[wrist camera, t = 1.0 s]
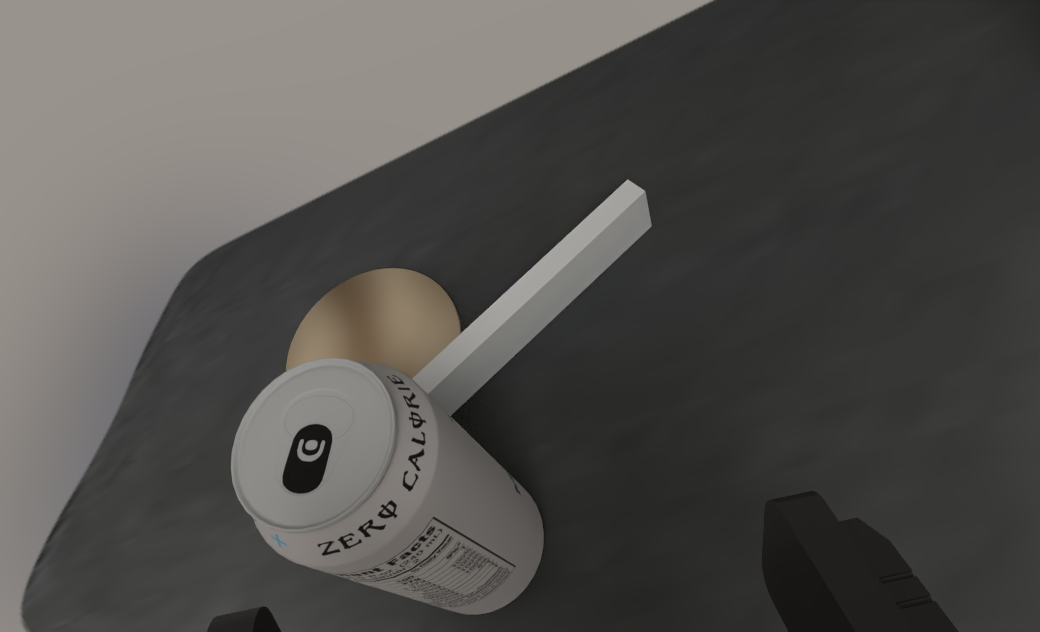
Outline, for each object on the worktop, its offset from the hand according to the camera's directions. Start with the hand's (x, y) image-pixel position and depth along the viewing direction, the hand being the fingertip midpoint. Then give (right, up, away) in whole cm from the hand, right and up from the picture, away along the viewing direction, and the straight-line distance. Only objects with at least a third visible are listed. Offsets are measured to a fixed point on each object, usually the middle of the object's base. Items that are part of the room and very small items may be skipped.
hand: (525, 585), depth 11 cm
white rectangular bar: (-1, +2, +24) cm, 25 cm away
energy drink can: (-2, -6, +20) cm, 21 cm away
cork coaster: (-8, +2, +27) cm, 28 cm away
